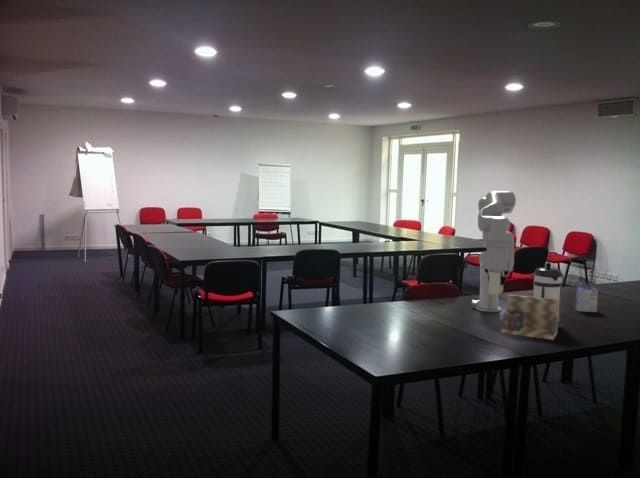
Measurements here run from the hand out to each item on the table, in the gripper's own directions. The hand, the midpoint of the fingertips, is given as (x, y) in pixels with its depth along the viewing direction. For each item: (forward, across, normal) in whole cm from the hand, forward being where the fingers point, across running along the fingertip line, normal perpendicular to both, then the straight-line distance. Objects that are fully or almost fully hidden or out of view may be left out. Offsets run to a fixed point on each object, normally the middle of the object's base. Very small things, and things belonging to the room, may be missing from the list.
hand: (496, 283), depth 250 cm
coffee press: (+22, +18, +22) cm, 36 cm away
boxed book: (+4, 0, 0) cm, 4 cm away
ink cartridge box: (+22, +32, +64) cm, 74 cm away
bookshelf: (+21, +15, +1) cm, 26 cm away
